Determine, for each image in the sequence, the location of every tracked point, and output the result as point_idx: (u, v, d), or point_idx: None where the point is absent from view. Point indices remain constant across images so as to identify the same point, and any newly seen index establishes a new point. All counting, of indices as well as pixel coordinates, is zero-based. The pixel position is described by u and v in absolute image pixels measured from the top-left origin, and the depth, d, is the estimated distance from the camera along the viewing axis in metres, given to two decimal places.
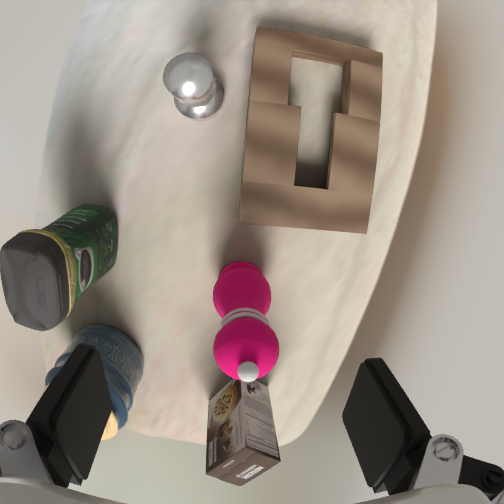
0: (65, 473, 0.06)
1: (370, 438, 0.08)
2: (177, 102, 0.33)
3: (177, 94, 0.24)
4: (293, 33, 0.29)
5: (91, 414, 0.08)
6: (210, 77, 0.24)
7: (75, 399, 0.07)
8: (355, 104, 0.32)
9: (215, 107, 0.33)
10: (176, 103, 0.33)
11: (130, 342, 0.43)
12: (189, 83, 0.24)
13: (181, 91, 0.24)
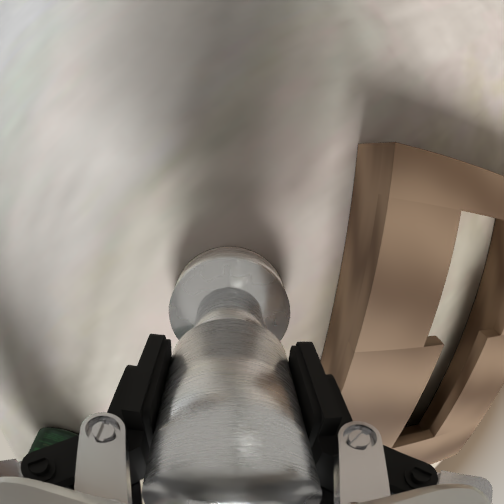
0: None
1: None
2: (179, 330, 0.15)
3: None
4: (467, 167, 0.11)
5: None
6: None
7: (158, 386, 0.08)
8: None
9: None
10: (177, 332, 0.15)
11: None
12: None
13: None
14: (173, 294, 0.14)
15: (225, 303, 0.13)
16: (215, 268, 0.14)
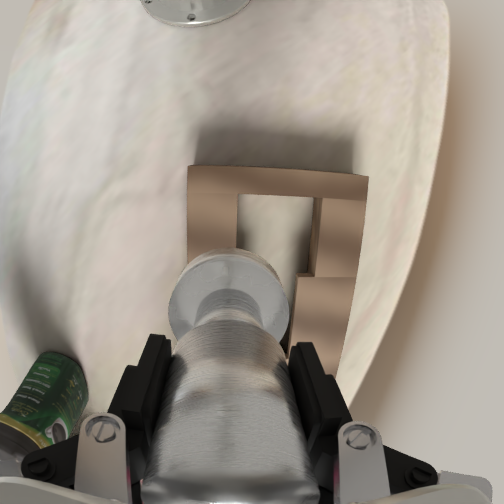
0: None
1: None
2: (178, 331, 0.15)
3: None
4: (239, 169, 0.25)
5: None
6: None
7: (159, 386, 0.08)
8: (324, 261, 0.28)
9: None
10: (176, 333, 0.15)
11: None
12: None
13: None
14: (172, 295, 0.14)
15: (224, 304, 0.13)
16: (214, 270, 0.14)
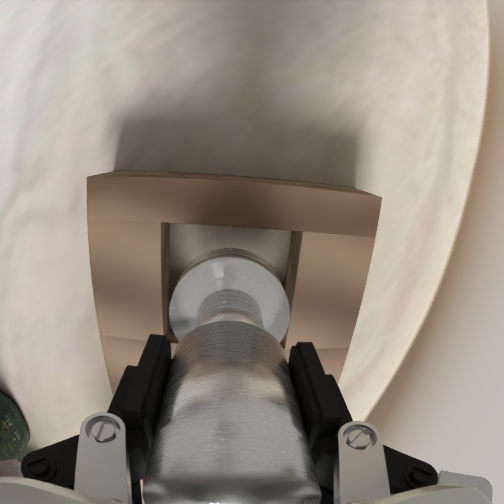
0: None
1: None
2: (179, 331, 0.15)
3: None
4: (162, 181, 0.15)
5: None
6: None
7: (159, 386, 0.08)
8: (301, 328, 0.18)
9: None
10: (177, 333, 0.15)
11: None
12: None
13: None
14: (173, 296, 0.14)
15: (225, 305, 0.13)
16: (215, 270, 0.14)
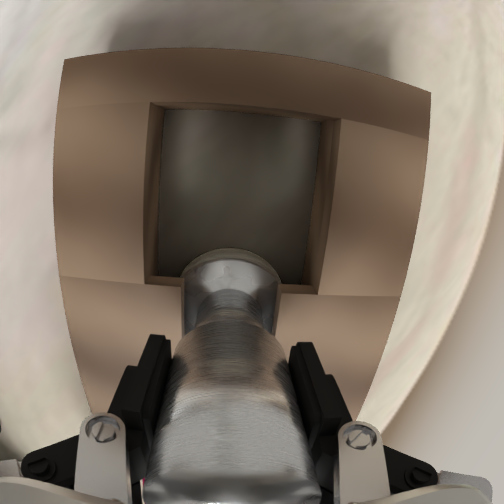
0: None
1: None
2: None
3: None
4: (157, 52, 0.10)
5: None
6: None
7: (159, 386, 0.08)
8: (341, 262, 0.13)
9: None
10: None
11: None
12: None
13: None
14: None
15: (225, 304, 0.13)
16: (215, 270, 0.14)
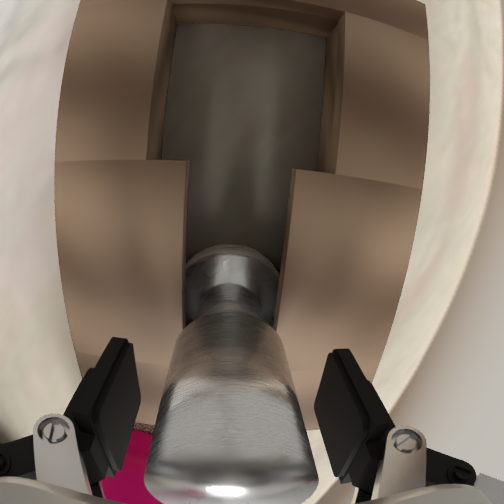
0: (103, 464, 0.06)
1: (335, 427, 0.09)
2: None
3: None
4: None
5: (125, 405, 0.09)
6: (309, 493, 0.06)
7: (114, 390, 0.08)
8: (357, 140, 0.11)
9: None
10: None
11: None
12: None
13: None
14: None
15: (225, 298, 0.13)
16: (215, 265, 0.15)
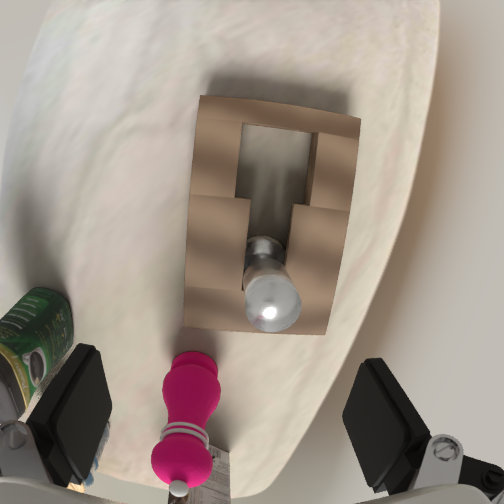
0: (65, 472, 0.06)
1: (370, 438, 0.08)
2: None
3: (262, 329, 0.24)
4: (245, 100, 0.27)
5: (91, 414, 0.08)
6: (299, 312, 0.24)
7: (75, 399, 0.07)
8: (319, 191, 0.30)
9: None
10: None
11: None
12: (275, 318, 0.24)
13: (267, 326, 0.24)
14: None
15: (262, 257, 0.31)
16: (257, 243, 0.33)
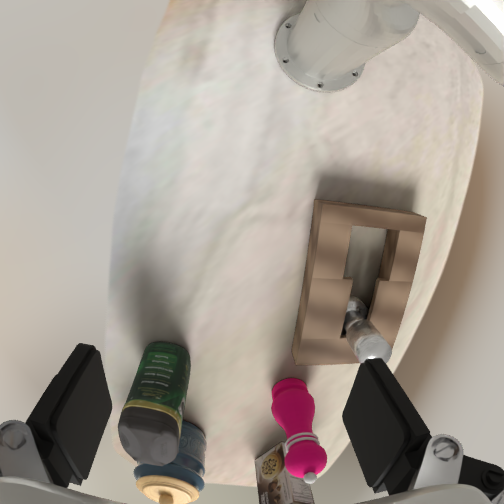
0: (65, 472, 0.06)
1: (370, 438, 0.08)
2: None
3: None
4: (354, 209, 0.37)
5: (91, 414, 0.08)
6: (389, 357, 0.35)
7: (75, 399, 0.07)
8: (396, 271, 0.40)
9: None
10: None
11: (197, 430, 0.51)
12: None
13: None
14: None
15: (355, 315, 0.42)
16: (350, 304, 0.44)
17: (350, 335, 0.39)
